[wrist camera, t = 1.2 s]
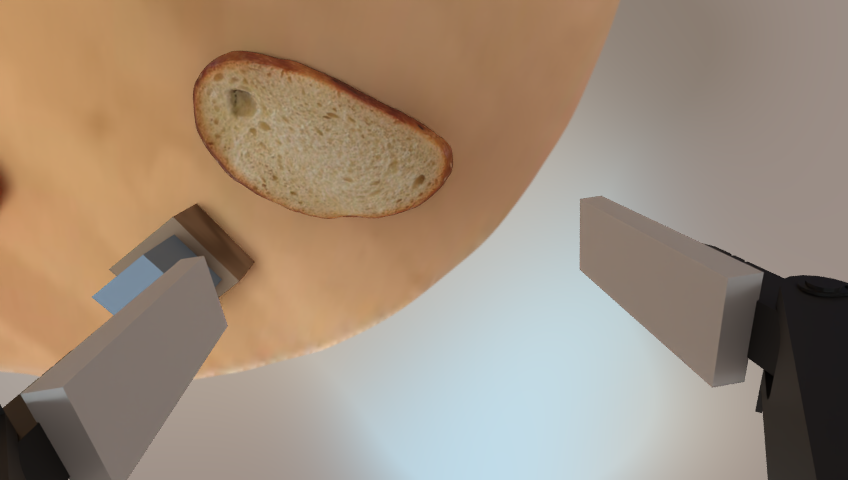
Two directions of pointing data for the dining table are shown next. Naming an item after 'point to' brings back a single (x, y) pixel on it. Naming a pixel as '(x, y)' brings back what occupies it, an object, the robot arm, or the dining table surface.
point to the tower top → (144, 274)
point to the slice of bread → (314, 139)
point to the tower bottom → (197, 246)
